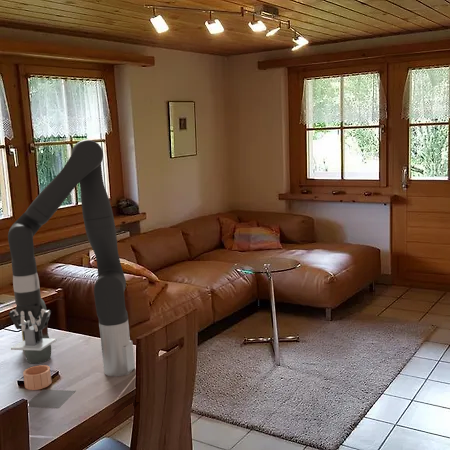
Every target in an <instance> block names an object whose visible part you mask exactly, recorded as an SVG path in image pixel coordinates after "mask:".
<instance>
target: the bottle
mask: <svg viewBox="0 0 450 450" xmlns="http://www.w3.org/2000/svg"><path fill="white" fill-rule="evenodd" d="M41 305H42V307H43V309H45V310H47V311H48V309H47V306H46V302H45V301H44V299H43V298H42V297H41ZM19 317H20V319H21V316H20V315H19ZM40 319H41V321H42V313H41V314H40ZM41 321H40V322H41ZM48 324H49V323H48ZM48 324H47V326H46V327H45V328H44V329H42V338H50V336H49V331H48V329H49V328H48V327H49V326H48ZM30 326H32V323H31V321H30V322H29V327H30ZM23 352H24V356H25V360H26V361H27V363H28V364H33V365H38V364H41V363H42V364H43V363H45V362H48V361H49V360H50V359H51V357H52V344H50V345H49V346H47V347H46V348H44V349H42V350H41V351H40V350H24V351H23Z"/></svg>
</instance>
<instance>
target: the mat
mask: <svg viewBox="0 0 450 450" xmlns="http://www.w3.org/2000/svg"><path fill="white" fill-rule="evenodd" d="M75 393H76V390H65V389H64V390H62V389H42V390H40V392H38V393H37V394H36V395H35V396H34V397H33V398H32V399H31V400H30V401H28V402H27V403H29V407H28V408H45V409H60V408H61V407H62V405H64V404H65V402H67V401H68V400H69V398H71V397H72V396H73V394H75Z"/></svg>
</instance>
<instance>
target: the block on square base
mask: <svg viewBox="0 0 450 450" xmlns="http://www.w3.org/2000/svg"><path fill="white" fill-rule="evenodd" d="M41 332H42V330H41ZM24 333H25V341H23V340H22V341H21V342H19V343H16V344H15V345H13V346H12V347H10V350H11V351H23V350H40V351H41V350H42V349H44V348H46V347H47V346H49V345H50V344H51V345H52V344H54V343H55V342H57V340H58V338H50V337H49V338H42V339H41V341H40V342H39V343H36V340H35V330H34V327H33V325H32V326H30V327H28V328H27V329H25V330H24Z"/></svg>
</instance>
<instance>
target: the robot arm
mask: <svg viewBox="0 0 450 450" xmlns="http://www.w3.org/2000/svg"><path fill="white" fill-rule="evenodd" d="M103 158H104V150H103V149H102V146H101V144H99V143H98V142H97V141H94V140H91V139H82V140H80V141H78V142H77V143H75V144H74V146H73V147H72V150H71V154H70V157H69V158H68V160H67V162H66V163H65V164H64V167H63V168H62V169H61V170H60V171H59V173H57V175H56V176H55V177H54V178H53V179H52V180H51V181H50V182H49V183H48V185H47V186H45V188H43V190H41V192H40V193H39V194H38V195H37V196H36V197H35V199H33V201H32V202H31V203H30V205H29V206H28V207H27V209H26V211H25V212H24V213H22V214H21V216H19V218H18V219H17V220H16V221H15V222H14V223H13V224H12V225H11V226H10V228H9V229H8V230H9V231H7V232H8V234H7V242H8V248H9V251H10V257H11V269H12V284H13V285H12V287H13V294H14V300H15V306H16V307H15V309H12V310H10V311H9V312H8V317H10V318H9V319H10V320H11V321H12V324H13V325H14V326H15V328H16V329H17V330H21V332H22V331H23V337H24V341H25V333H24V330H25V329H27V328H28V327H29V322H30V321H31V323H32V325H33V327H34V330H35V340H36V343H39V342H40V341H41V339H42V332H41V330H42V329H44V328H45V327H46V326H47V324H49V320H50V317H51V313H52V310H50V309H47V310H45V309H43V307H42V305H41V298H42V297H41V296H42V295H41V288H40V278H39V275H38V268H37V261H36V257H35V249H34V248H35V246H34V236H35V235H36V233H37V232H38V231H39V230H40V228H41V227H43V225H45V224H46V223H48V222H49V220H50V219H51V218H52V217H53V216H54V214H56V212H57V211H58V210H59V208H60V207H61V206H62V204H63V203H64V201H65V200H66V199H67V198H68V196H69V195H70V194H71V193H72V191H73V190H74V189H75V188H76V186H78V185H79V188H80V202H81V211H82V220H83V222H84V223H83V224H84V229H85V235H86V237H87V240H88V242H89V244H90V246H91V249H92V251H93V253H94V256H95V260H96V266H97V267H96V268H97V280H96V282H95V283H94V287H93V295H94V302H95V303H94V304H95V311H96V316H97V318H98V327H99V335H100V344H101V346H100V347H101V354H102V355H101V356H102V357H101V358H102V365H103V367H102V368H103V373H104V374H105V376H108V377H121V376H128V375H130V374H131V373H132V372H133V370H134V369H135V368H136V367H135V355H134V354H135V353H134V344H133V340H131V337H130V325H129V315H128V311H127V308H126V301H125V290H126V288H127V281H126V277H125V274H124V271H123V267H122V263H121V260H120V256H119V250H118V249H119V247H118V239H117V237H118V236H117V232H116V231H117V230H116V224H115V223H116V222H115V218H114V212H113V209H112V205H111V201H110V198H109V196H108V193H107V190H106V187H105V184H104V180H103V179H104V178H103V169H102V162H103V160H104V159H103ZM41 313H42V321H41V319H40V314H41ZM20 316H21V319H20ZM40 321H41V322H40Z"/></svg>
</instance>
